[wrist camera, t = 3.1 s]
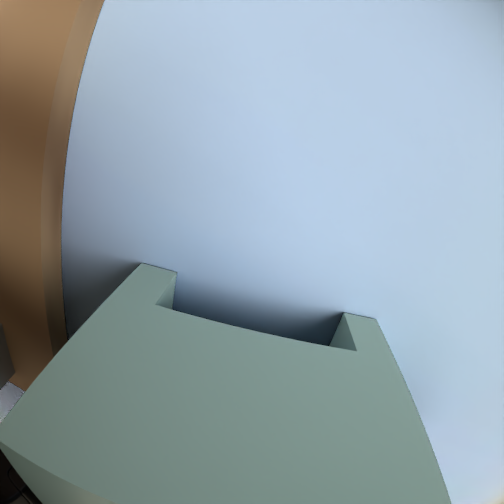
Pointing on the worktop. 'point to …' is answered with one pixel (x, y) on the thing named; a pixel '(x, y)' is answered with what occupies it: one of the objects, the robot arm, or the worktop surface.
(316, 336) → the worktop surface
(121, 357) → the block
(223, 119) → the worktop surface
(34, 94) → the mounting board
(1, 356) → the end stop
